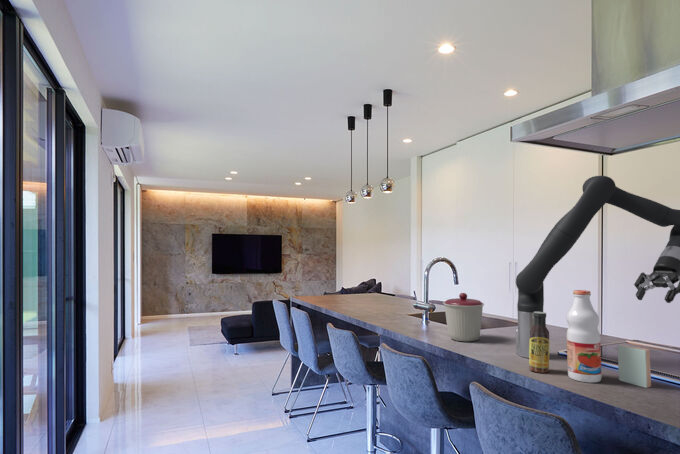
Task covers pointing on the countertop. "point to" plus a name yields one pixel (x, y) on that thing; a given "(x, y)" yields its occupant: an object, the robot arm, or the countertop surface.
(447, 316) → the canister
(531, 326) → the robot arm
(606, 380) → the countertop surface
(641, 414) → the countertop surface
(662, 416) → the countertop surface
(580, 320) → the fruit juice
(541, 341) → the sauce bottle
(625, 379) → the pale green flat block
